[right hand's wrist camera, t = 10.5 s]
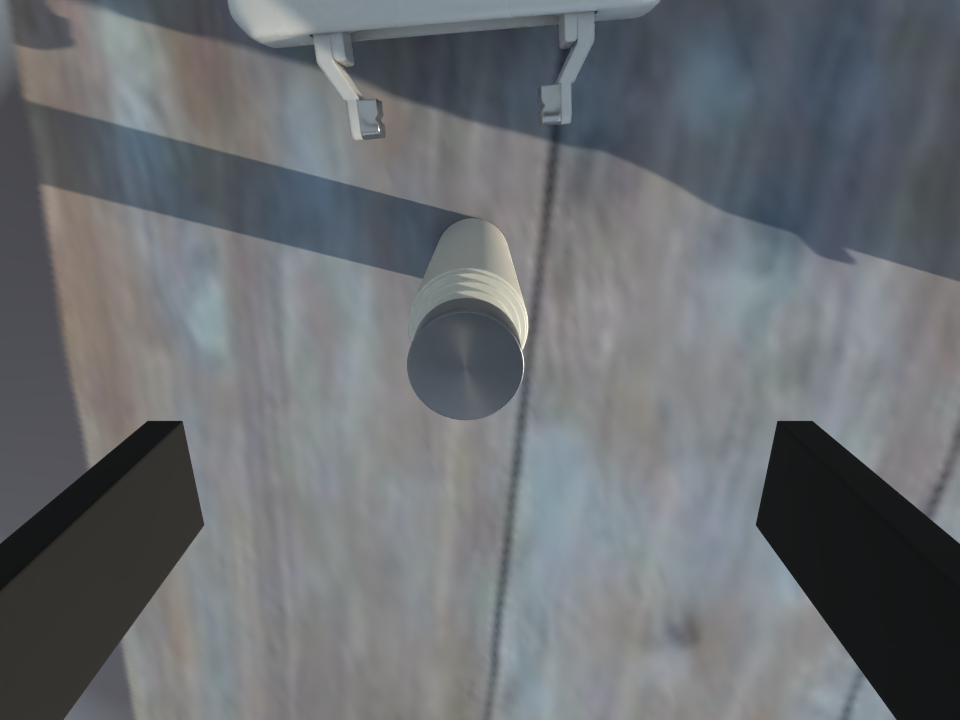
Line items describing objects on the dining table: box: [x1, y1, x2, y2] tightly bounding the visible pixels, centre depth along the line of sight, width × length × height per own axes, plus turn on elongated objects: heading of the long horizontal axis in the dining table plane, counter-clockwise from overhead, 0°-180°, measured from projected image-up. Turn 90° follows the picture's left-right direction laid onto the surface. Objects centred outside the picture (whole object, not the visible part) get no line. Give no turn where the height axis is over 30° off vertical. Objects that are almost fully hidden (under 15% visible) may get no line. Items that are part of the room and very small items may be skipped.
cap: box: [407, 298, 524, 420], centre depth 19 cm, size 4×4×2 cm
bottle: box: [408, 218, 528, 350], centre depth 28 cm, size 5×5×20 cm
